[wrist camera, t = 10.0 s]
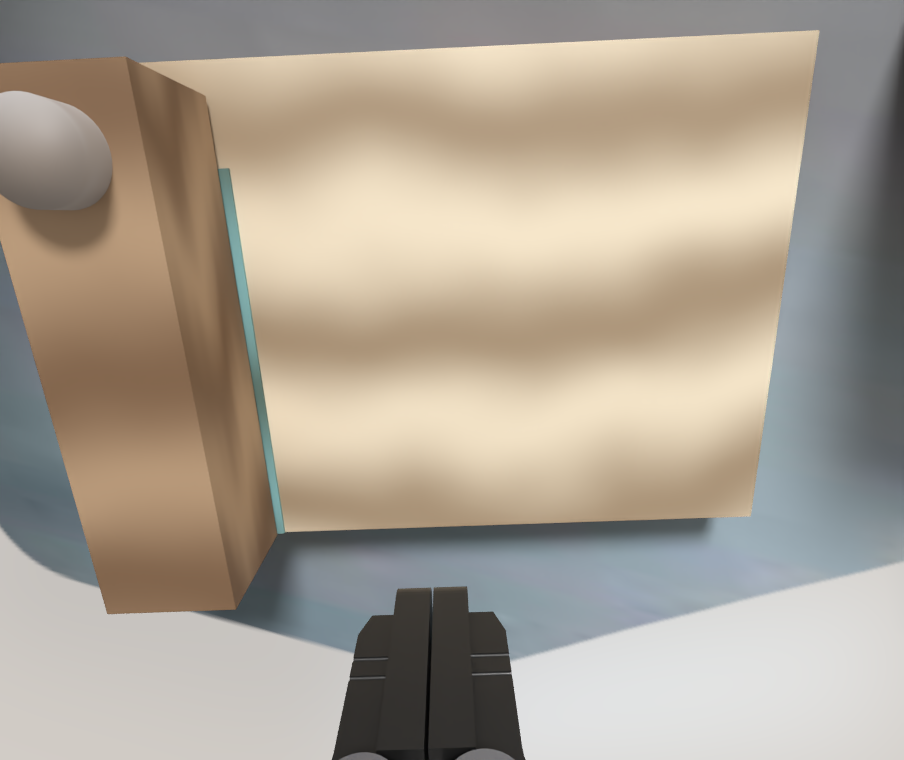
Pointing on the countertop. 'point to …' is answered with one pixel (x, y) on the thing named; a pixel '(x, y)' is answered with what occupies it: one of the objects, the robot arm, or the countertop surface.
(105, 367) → the stool leg
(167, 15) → the countertop surface
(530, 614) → the countertop surface
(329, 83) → the light wooden board
